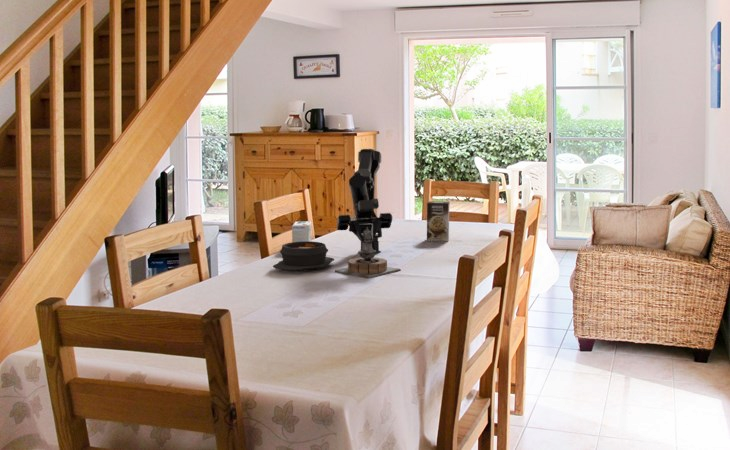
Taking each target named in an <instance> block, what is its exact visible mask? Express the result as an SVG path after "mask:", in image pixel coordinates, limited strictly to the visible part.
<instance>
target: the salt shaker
mask: <svg viewBox="0 0 730 450" xmlns="http://www.w3.org/2000/svg"><path fill="white" fill-rule="evenodd" d="M372 241H373V240H372V235H371V231H370V230H369V229H368V227H367V229H366V230H364V231H363V249H362V250H361V249H360V250H359V253H358V254H359V256H360V258H364V259H362V260H361V261H360V262H361V263H374V262H375V260H373V259H371V258H373V257H374V258H375V255H376V253H375V252H376V251H375V250H373V249H372Z"/></svg>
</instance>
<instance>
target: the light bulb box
mask: <svg viewBox="0 0 730 450" xmlns="http://www.w3.org/2000/svg"><path fill="white" fill-rule="evenodd" d="M291 237H292V238H291V239H292V240H291V243H292V242H303V241H310V242H312V221H311V220H309V221H308V220H307V221H306V220H305V221H304V220H301V221H299V220H298V221H294V223H293V224H292V225H291Z"/></svg>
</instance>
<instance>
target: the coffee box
mask: <svg viewBox="0 0 730 450" xmlns="http://www.w3.org/2000/svg"><path fill="white" fill-rule="evenodd" d="M450 202H451V201H427V202H426V242H443V243H444V242H445V243H446V242H447V243H448V242H449V240H450Z"/></svg>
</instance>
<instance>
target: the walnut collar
mask: <svg viewBox="0 0 730 450" xmlns="http://www.w3.org/2000/svg"><path fill="white" fill-rule="evenodd" d="M362 259H364V258H362V257H356V258H355V257H354V258H351V259H349V260H348V261H347V267H344V268H338V269H334V273H339V274H344V275H349V276H355V277H360V278H365V279H371V278H376V277H380V276H385V275H389V274H393V273H397V272H400V271H401V270H402V269H401V268H397V267H391V266H388V260H386V259H385V258H383V257H382V258H380V257H375V256H374V257H373V258H371V259H373V260H375V262H374V263H361V262H360V261H361V260H362Z"/></svg>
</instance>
